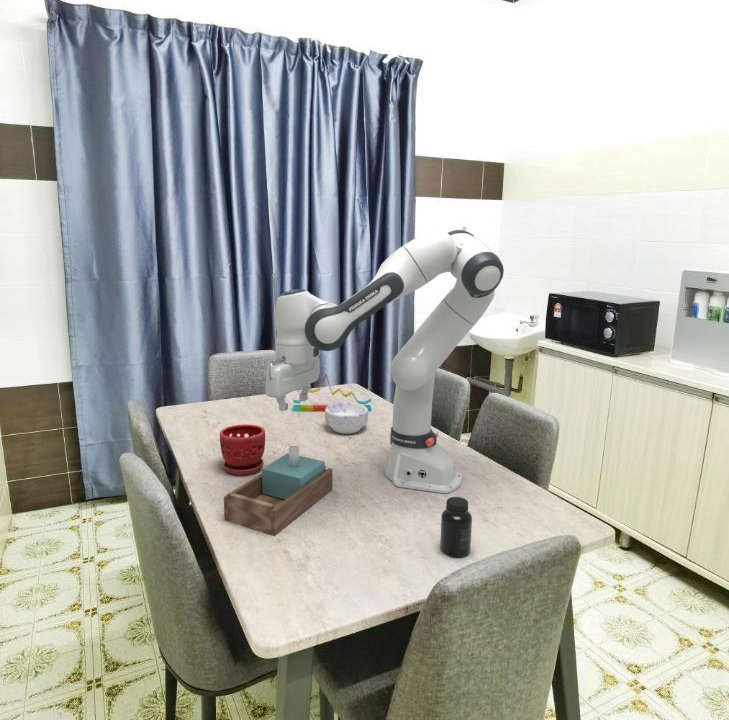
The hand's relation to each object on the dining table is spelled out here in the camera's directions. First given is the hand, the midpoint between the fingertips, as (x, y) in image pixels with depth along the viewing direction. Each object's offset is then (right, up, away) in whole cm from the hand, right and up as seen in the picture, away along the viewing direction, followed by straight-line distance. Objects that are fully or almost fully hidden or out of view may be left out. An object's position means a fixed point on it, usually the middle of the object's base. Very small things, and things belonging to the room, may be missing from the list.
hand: (293, 405), depth 147 cm
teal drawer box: (0, -23, +5) cm, 23 cm away
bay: (-3, -26, 0) cm, 26 cm away
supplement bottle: (+39, -31, -19) cm, 53 cm away
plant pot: (-18, -21, +21) cm, 34 cm away
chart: (+6, -8, +75) cm, 76 cm away
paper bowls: (+12, -13, +55) cm, 58 cm away
